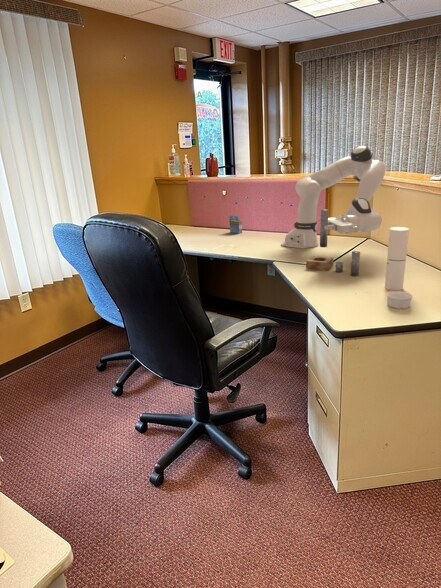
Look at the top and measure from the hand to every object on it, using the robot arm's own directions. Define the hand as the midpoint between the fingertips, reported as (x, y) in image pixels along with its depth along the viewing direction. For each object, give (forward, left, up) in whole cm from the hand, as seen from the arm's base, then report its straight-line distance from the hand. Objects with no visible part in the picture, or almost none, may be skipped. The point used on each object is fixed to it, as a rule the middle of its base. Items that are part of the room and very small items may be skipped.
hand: (322, 226), depth 201 cm
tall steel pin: (+1, +1, -10) cm, 10 cm away
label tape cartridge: (-83, +62, -21) cm, 106 cm away
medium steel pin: (+18, -7, -21) cm, 28 cm away
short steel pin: (+10, -4, -21) cm, 23 cm away
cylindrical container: (+37, -18, -21) cm, 46 cm away
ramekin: (+42, -38, -21) cm, 60 cm away
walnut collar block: (-1, 0, -21) cm, 21 cm away
